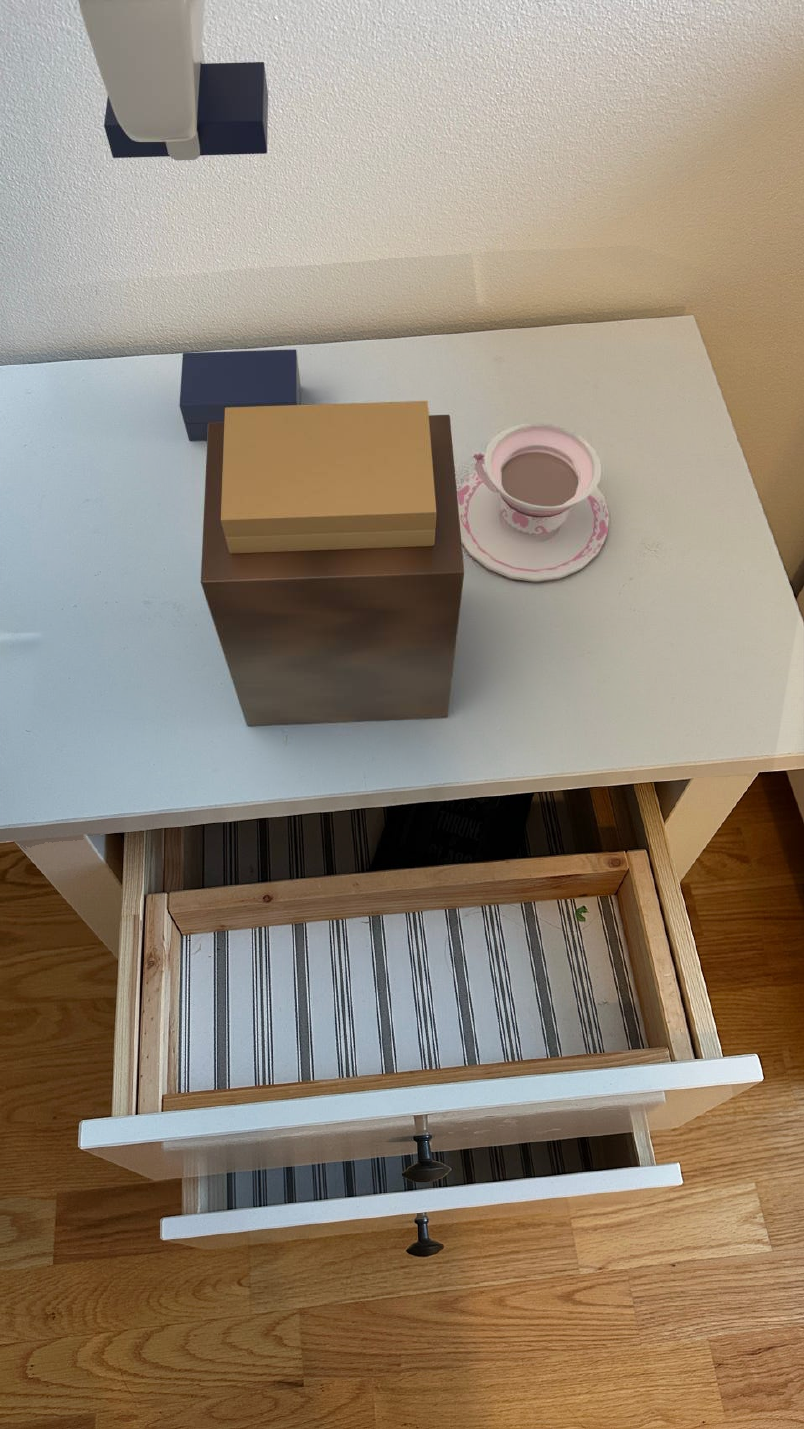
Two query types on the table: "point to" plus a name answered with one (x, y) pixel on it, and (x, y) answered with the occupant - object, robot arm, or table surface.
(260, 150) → the navy book
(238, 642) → the book stand
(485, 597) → the table surface
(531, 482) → the teacup
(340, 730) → the table surface
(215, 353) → the navy books
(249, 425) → the tan books
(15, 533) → the table surface
